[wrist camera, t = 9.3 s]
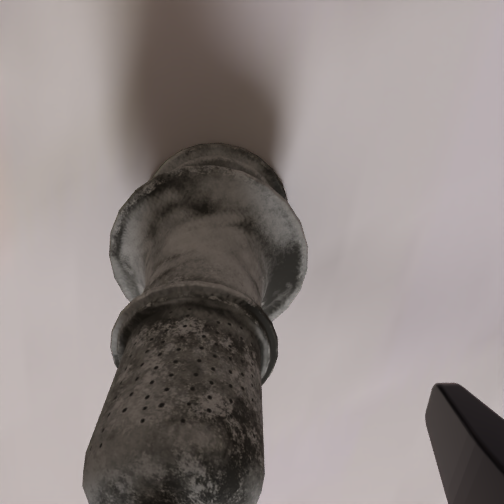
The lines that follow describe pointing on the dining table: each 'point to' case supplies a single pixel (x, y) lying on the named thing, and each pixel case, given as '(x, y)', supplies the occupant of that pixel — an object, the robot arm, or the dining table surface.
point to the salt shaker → (195, 331)
